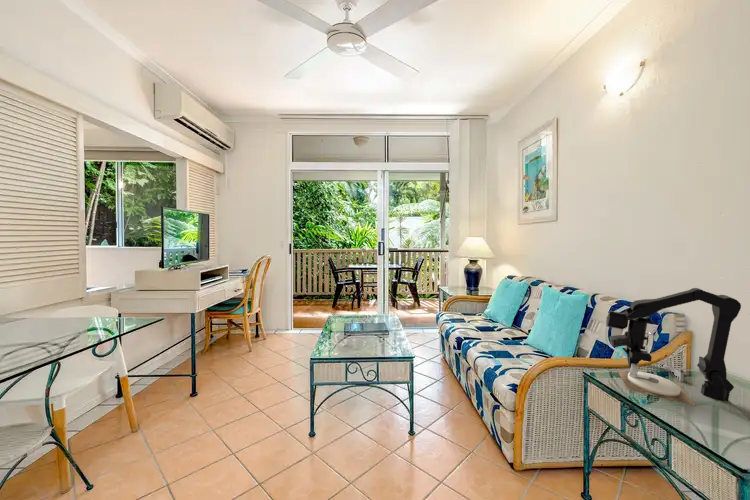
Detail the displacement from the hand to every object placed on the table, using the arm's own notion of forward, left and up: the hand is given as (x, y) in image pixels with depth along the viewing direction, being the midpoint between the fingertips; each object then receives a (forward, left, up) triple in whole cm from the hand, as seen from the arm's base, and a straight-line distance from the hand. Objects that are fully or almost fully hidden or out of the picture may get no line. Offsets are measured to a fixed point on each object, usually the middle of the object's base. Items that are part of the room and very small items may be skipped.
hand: (630, 368), depth 138 cm
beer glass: (-8, -23, -5) cm, 25 cm away
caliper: (-18, -18, -6) cm, 26 cm away
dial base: (-7, +4, -5) cm, 9 cm away
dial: (-7, +4, -4) cm, 9 cm away
